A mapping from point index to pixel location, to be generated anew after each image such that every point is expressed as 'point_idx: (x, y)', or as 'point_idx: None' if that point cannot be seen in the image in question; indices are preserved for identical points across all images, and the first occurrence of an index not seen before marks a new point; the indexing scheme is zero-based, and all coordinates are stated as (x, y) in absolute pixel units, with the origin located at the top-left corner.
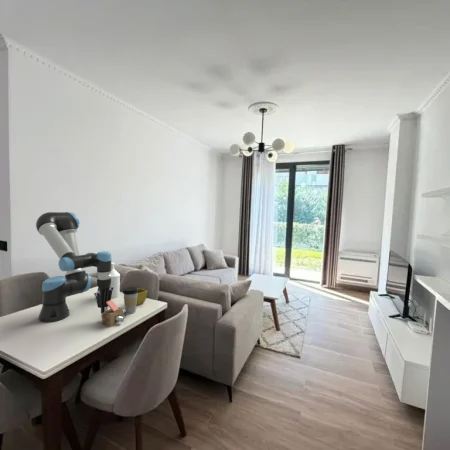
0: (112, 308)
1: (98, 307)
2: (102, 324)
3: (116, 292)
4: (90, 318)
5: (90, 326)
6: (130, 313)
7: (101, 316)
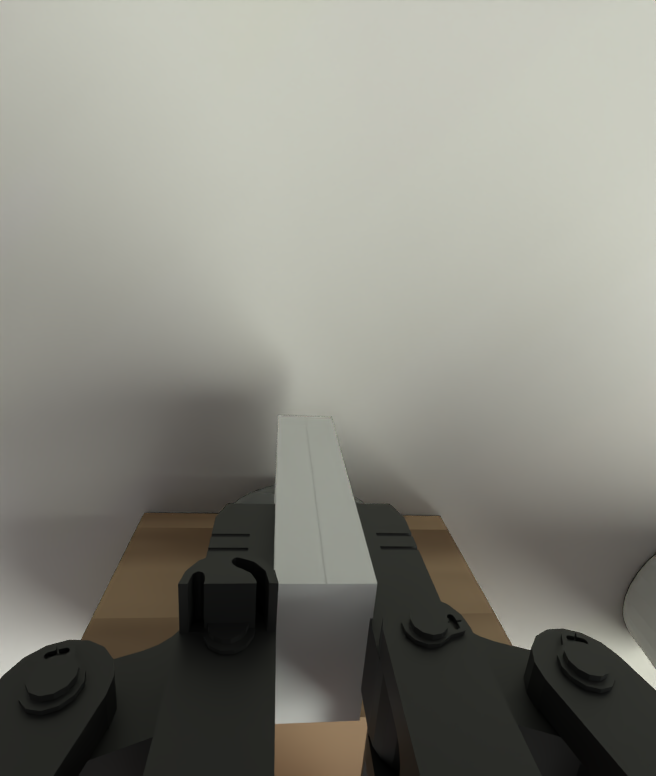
0: None
1: (43, 668)
2: (142, 526)
3: None
4: (307, 89)
5: (10, 371)
6: (628, 629)
7: (278, 431)
